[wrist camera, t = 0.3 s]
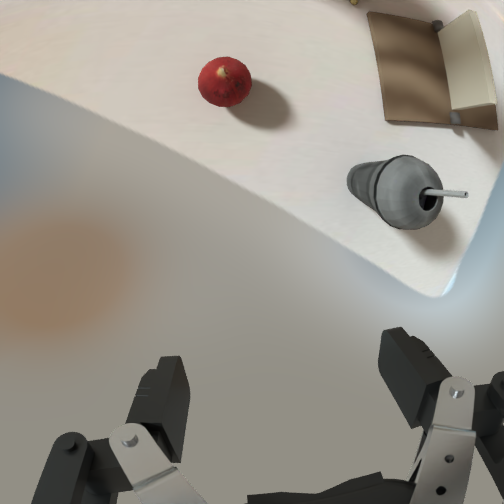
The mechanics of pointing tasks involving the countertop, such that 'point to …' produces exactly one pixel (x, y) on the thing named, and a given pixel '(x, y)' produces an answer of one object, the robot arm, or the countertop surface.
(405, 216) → the beverage cup
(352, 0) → the gavel
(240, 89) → the onion
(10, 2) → the countertop surface
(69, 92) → the countertop surface
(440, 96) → the walnut board
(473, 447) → the robot arm
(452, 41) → the tile
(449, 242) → the countertop surface
